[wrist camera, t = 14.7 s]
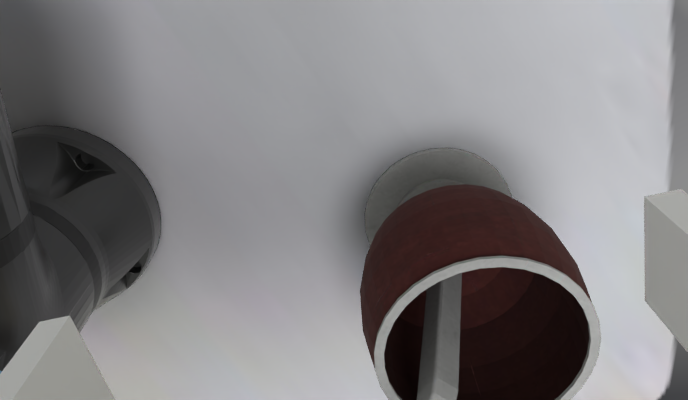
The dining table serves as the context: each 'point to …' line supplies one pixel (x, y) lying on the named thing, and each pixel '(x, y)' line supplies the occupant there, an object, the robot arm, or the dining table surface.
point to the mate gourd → (470, 288)
